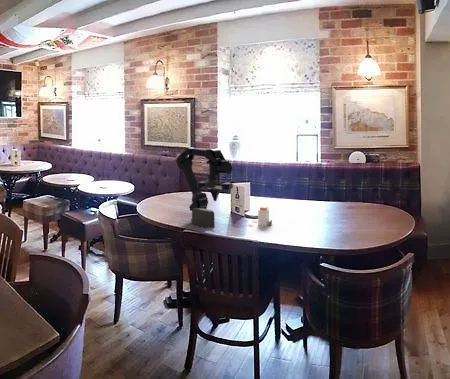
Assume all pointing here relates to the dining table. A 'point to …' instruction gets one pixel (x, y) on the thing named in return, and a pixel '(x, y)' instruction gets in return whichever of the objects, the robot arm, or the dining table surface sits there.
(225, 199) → the dining table surface
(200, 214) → the leaning round-cornered charcoal block
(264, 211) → the white bottle
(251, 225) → the switch board
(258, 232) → the dining table surface
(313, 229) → the dining table surface
